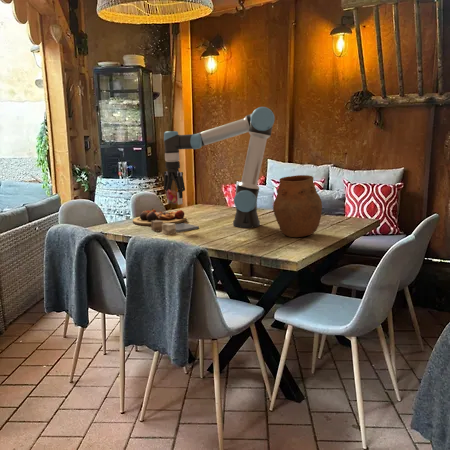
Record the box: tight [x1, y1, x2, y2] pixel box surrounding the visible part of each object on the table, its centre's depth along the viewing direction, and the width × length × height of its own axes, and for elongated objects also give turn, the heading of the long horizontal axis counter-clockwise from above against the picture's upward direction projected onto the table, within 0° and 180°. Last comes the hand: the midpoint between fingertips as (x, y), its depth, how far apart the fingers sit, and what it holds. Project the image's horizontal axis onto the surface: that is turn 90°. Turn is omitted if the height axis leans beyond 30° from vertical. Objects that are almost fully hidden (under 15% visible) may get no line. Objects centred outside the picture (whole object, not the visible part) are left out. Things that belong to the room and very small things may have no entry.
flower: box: [165, 189, 184, 205], centre depth 232 cm, size 10×9×8 cm
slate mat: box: [175, 222, 200, 233], centre depth 239 cm, size 14×14×1 cm
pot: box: [272, 174, 323, 238], centre depth 216 cm, size 24×24×30 cm
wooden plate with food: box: [132, 208, 187, 227], centre depth 260 cm, size 32×32×8 cm
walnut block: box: [150, 220, 163, 232], centre depth 235 cm, size 5×5×5 cm
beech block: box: [161, 223, 177, 235], centre depth 227 cm, size 5×5×5 cm
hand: (175, 203), depth 233 cm, fingers closed on flower, 8 cm apart
